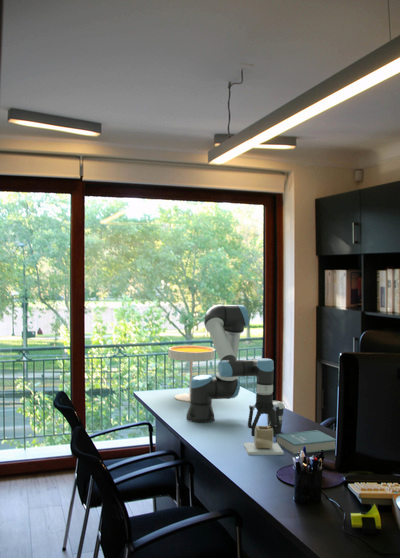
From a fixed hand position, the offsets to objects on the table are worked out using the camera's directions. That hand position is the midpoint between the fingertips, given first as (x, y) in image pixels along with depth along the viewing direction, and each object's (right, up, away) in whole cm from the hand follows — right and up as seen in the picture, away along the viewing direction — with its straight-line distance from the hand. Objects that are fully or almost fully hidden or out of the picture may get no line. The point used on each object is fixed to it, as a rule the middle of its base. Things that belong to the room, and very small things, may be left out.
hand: (263, 443), depth 244 cm
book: (+21, -4, +7) cm, 22 cm away
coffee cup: (+9, -3, +28) cm, 29 cm away
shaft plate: (0, -3, 0) cm, 3 cm away
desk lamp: (-35, -1, +95) cm, 101 cm away
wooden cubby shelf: (0, -1, 0) cm, 1 cm away
